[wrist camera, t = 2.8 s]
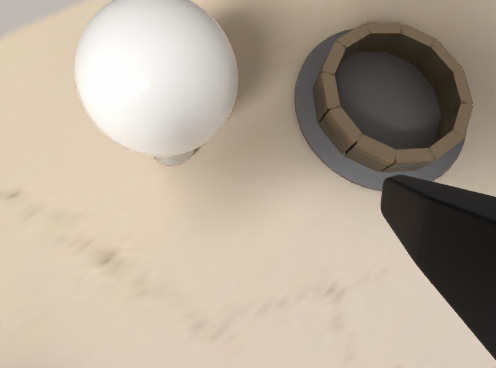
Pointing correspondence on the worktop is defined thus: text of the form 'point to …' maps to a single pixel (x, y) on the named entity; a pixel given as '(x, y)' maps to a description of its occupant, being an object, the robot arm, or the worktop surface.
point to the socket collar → (430, 66)
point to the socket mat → (374, 111)
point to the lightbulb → (156, 76)
